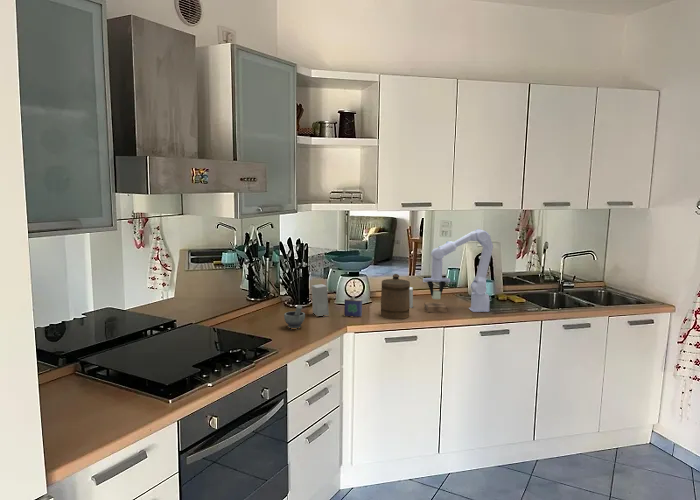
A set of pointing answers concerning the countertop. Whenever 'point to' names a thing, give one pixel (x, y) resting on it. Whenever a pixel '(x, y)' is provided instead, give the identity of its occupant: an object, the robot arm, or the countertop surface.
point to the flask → (353, 307)
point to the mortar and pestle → (295, 317)
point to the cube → (436, 294)
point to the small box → (411, 297)
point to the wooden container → (395, 298)
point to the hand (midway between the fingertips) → (436, 295)
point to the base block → (435, 307)
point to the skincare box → (320, 300)
